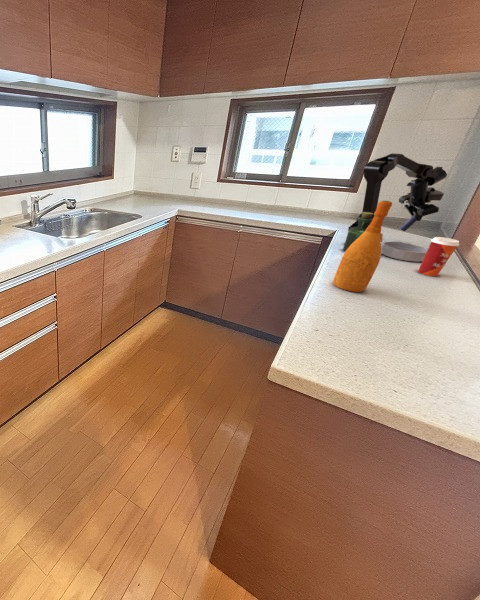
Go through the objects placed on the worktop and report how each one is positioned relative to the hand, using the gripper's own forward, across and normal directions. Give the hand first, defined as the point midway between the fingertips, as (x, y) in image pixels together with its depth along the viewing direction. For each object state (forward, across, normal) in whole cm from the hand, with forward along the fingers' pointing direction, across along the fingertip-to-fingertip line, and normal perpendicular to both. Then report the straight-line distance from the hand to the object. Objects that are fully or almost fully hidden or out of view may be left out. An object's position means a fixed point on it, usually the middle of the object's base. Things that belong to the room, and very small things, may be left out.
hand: (416, 219), depth 160 cm
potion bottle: (-9, -24, +37) cm, 45 cm away
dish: (-1, -26, +19) cm, 32 cm away
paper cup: (-6, -47, +21) cm, 52 cm away
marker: (+4, 0, +6) cm, 7 cm away
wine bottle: (-28, -68, +55) cm, 92 cm away
